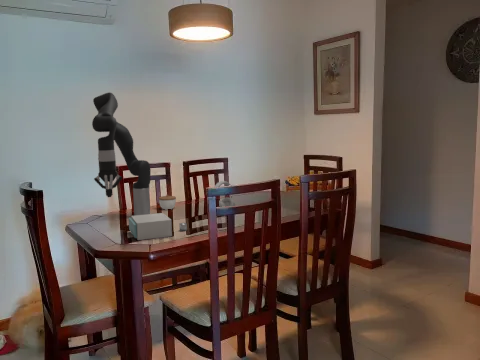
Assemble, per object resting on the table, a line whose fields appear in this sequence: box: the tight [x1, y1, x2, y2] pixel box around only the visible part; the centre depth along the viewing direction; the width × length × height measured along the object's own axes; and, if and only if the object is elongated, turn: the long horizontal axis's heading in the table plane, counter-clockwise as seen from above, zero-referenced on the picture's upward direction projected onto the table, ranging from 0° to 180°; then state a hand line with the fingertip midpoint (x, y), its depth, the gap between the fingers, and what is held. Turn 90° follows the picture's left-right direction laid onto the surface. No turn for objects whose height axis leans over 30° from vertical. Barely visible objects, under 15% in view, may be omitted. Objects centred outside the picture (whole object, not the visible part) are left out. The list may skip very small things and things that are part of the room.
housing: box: [130, 212, 173, 241], centre depth 197 cm, size 18×16×8 cm
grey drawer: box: [128, 216, 137, 239], centre depth 196 cm, size 18×16×6 cm
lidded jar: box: [158, 194, 177, 211], centre depth 259 cm, size 11×11×9 cm
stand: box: [178, 222, 188, 232], centre depth 204 cm, size 4×4×4 cm
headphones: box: [214, 180, 236, 207], centre depth 240 cm, size 19×9×20 cm, turn 145°
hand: (109, 196), depth 189 cm, fingers closed
